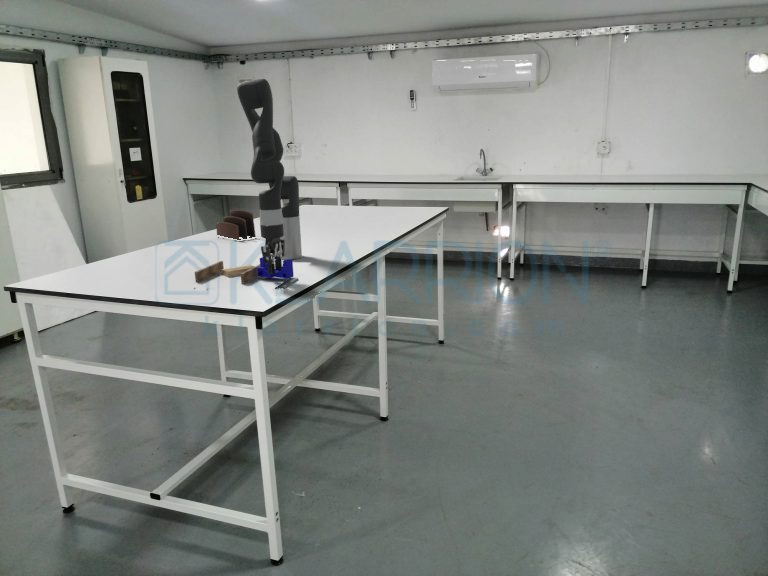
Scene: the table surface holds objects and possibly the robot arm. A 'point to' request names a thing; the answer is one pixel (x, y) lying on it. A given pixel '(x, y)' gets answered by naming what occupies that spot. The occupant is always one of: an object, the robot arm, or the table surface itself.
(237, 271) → the upper offcut
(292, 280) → the rubber mat
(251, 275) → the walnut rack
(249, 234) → the letter holder
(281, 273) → the blue curved piece
